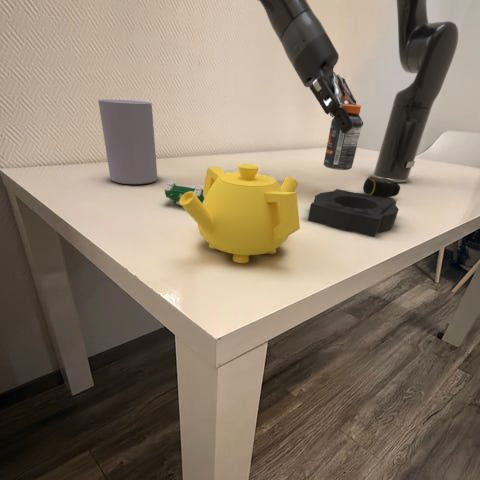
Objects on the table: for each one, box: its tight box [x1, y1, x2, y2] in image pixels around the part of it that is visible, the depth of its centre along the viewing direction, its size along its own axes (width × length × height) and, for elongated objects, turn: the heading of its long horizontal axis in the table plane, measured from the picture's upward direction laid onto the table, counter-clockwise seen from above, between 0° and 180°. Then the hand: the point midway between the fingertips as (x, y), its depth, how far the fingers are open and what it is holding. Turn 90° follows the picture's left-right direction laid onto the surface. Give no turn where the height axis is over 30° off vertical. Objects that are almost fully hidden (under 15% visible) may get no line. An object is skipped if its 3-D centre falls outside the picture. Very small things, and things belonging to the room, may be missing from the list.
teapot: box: [179, 163, 301, 264], centre depth 45 cm, size 20×18×11 cm
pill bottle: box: [323, 103, 363, 171], centre depth 67 cm, size 6×6×11 cm
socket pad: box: [307, 188, 400, 238], centre depth 62 cm, size 15×15×3 cm
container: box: [97, 98, 158, 186], centre depth 71 cm, size 10×10×15 cm
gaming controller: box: [164, 179, 204, 206], centre depth 62 cm, size 9×4×6 cm
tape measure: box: [362, 176, 401, 199], centre depth 76 cm, size 7×7×4 cm
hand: (354, 129), depth 65 cm, fingers closed on pill bottle, 6 cm apart
